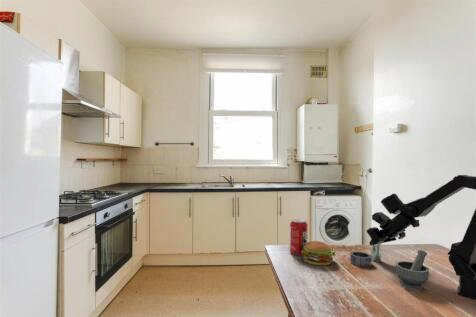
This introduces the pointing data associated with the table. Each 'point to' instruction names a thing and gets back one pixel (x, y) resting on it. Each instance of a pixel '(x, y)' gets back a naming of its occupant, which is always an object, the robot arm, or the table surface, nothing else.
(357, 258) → the collar ring
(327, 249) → the food
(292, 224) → the soda can
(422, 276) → the mortar and pestle
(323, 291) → the table surface
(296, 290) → the table surface
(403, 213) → the robot arm
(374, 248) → the tube
